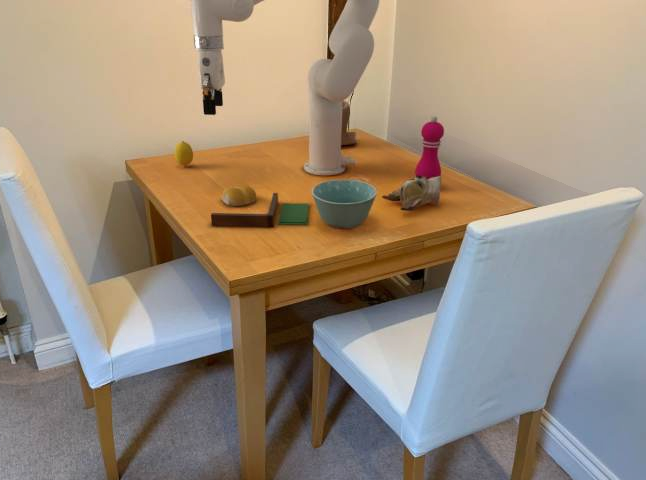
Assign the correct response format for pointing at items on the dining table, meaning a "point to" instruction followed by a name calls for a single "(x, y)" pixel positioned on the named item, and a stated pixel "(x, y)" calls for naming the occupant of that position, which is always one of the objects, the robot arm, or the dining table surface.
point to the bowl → (343, 202)
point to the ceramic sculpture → (417, 192)
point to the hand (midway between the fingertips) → (213, 110)
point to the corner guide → (247, 217)
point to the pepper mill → (430, 150)
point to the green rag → (293, 214)
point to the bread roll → (239, 196)
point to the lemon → (183, 153)
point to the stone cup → (346, 136)
